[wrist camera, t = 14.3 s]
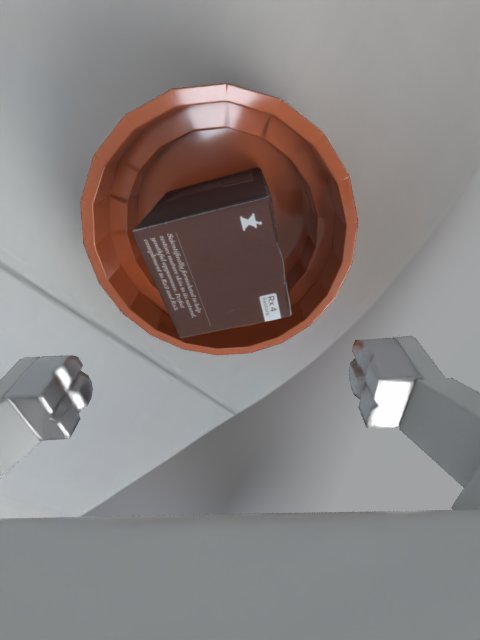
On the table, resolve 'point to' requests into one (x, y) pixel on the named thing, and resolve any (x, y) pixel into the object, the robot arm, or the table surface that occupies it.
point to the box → (216, 254)
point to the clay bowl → (207, 164)
